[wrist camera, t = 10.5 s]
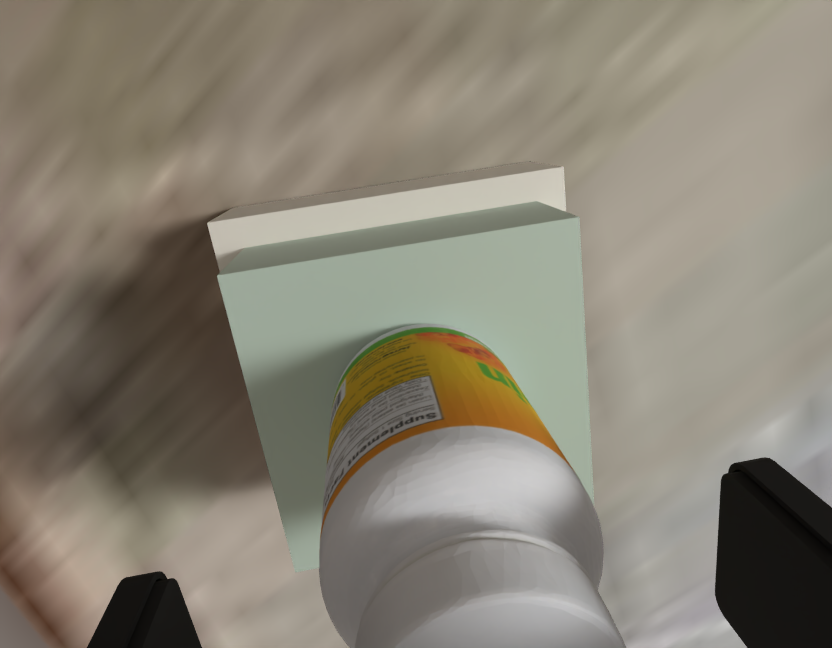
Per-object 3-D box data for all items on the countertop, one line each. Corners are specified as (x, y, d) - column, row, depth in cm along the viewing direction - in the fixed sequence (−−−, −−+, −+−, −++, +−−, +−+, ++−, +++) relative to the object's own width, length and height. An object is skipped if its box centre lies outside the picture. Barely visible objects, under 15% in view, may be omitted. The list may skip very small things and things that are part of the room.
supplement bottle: (542, 422, 18) (743, 727, 9) (398, 512, 18) (441, 893, 9) (451, 282, 16) (578, 476, 7) (295, 386, 17) (219, 695, 7)
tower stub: (232, 208, 23) (168, 244, 15) (529, 161, 23) (613, 174, 16) (296, 468, 26) (271, 602, 19) (550, 423, 27) (624, 535, 19)
